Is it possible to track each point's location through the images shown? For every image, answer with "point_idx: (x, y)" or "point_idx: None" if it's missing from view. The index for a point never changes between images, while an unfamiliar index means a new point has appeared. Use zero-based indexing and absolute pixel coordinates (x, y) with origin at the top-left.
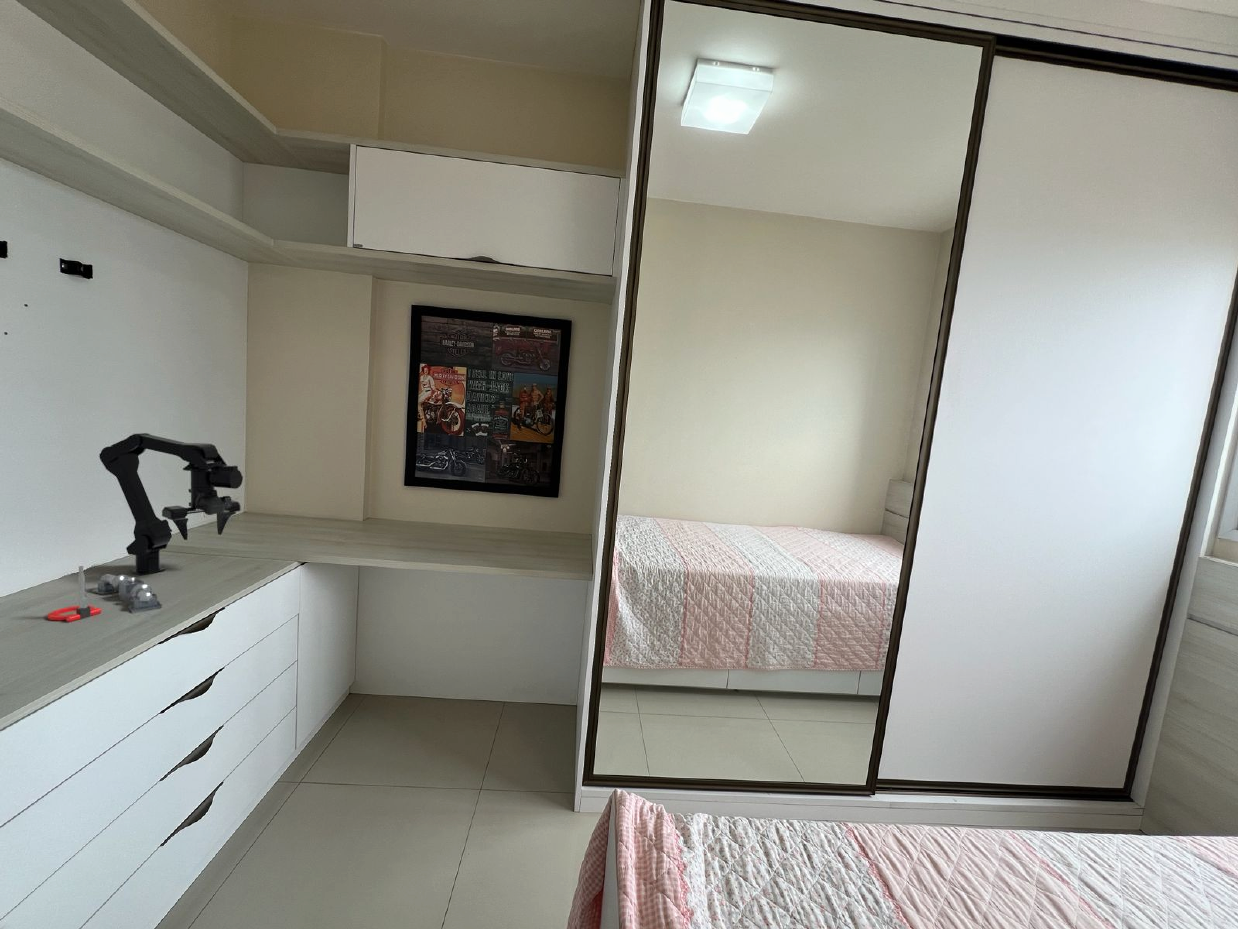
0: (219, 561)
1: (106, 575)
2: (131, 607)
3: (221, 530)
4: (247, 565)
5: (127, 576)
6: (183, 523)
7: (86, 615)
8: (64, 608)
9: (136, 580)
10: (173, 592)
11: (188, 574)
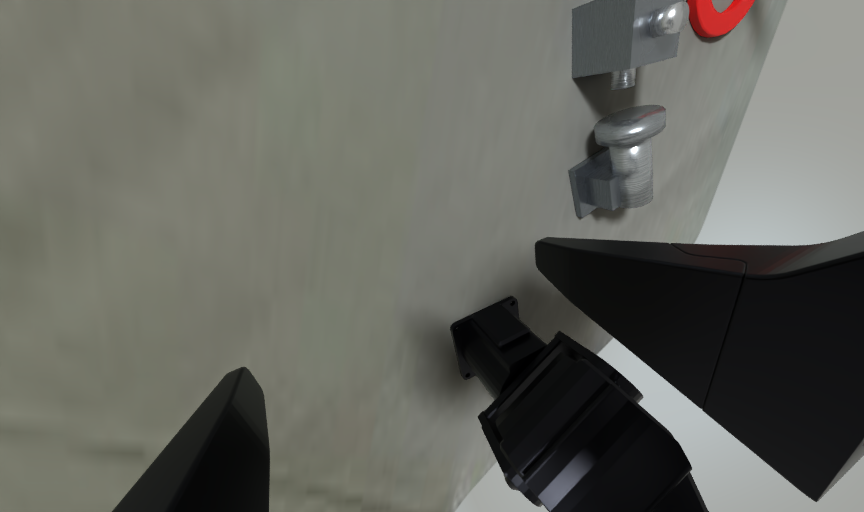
0: None
1: (652, 190)
2: None
3: (215, 405)
4: (104, 313)
5: (635, 127)
6: (807, 258)
7: None
8: (723, 29)
9: (642, 35)
10: (488, 6)
11: (394, 257)
